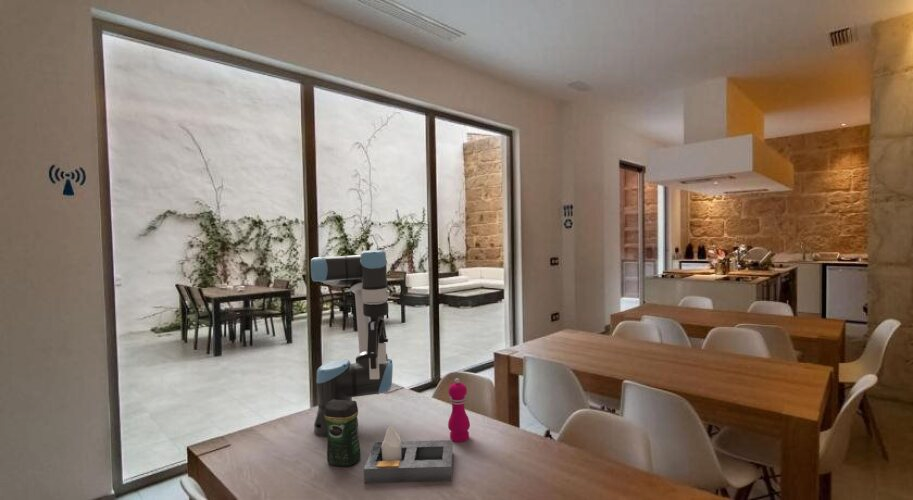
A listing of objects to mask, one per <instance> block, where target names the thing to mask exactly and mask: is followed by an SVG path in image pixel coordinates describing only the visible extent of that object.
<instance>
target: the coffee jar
mask: <svg viewBox="0 0 913 500" xmlns="http://www.w3.org/2000/svg"><path fill="white" fill-rule="evenodd" d="M358 415H359V408H358V402H357V401H356V400H352V401H346V400H335V399H333V400H331V401H330V402H328V403H327V404H326V406H325V419H326V422H327V430H328V437H327V447H326V449H327V450H326V460H327V461H326V462H327V463H328V464H329V465H331V466H336V467H349V466H353V465H355V464H356V463H358V461H359V460H360V458H361V456H362V455H361V453H362V452H361V445H360V439H359V432H358V427H357V418H358Z"/></svg>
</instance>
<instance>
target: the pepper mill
mask: <svg viewBox="0 0 913 500" xmlns="http://www.w3.org/2000/svg"><path fill="white" fill-rule="evenodd" d="M448 395H449V396H450V403H451V409H452V410H451V414H450V416H449V419H448V422H447V423H448V424H447V426H448V430H449V431H450V432H449V440H452V442H455V443H462V442H465V441H468V440H469V438H470V432H469V429H470V427H471V423H470V419H469V416H468V414H467V413H466V410H465V404H466V401H467V400H466V399H467V398H466V396H467V386H466V385H465V384H464V383H463V382H461V380H460V379H459V378H458V377H457V378H455V379H454V382H453V383H451V384H450V385H449V387H448Z"/></svg>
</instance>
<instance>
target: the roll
mask: <svg viewBox="0 0 913 500" xmlns="http://www.w3.org/2000/svg"><path fill="white" fill-rule="evenodd" d="M381 442H382V446H381V448H382V460H383V461H395V460H400V461H402V454H401V442H402V441H401V437H400V435H399V434H398V433H397V432H396V430H395V428H394V427H392V426H388V427H387V430H386V431H385V435H384V438H383V441H381Z"/></svg>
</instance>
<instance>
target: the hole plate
mask: <svg viewBox="0 0 913 500" xmlns="http://www.w3.org/2000/svg"><path fill="white" fill-rule="evenodd" d="M382 442H383V441H379V442H377V441H375V442H374V443H373V445H372V446H373V447H372V449H371V451H370V454H369V455H368V458H367V460H366V462H365V465H364V468H363V479H364V481H363V483H364V484H383V483H384V484H385V483H386V484H387V483H388V484H389V483H391V484H392V483H416V482H417V483H419V482H449V481H450V482H451V481H452V478H453V477H452V476H453V475H452V474H453V471H452V470H453V453H454V450H453V441H452V440H451V439H443V440H440V439H439V440H437V439H436V440H414V441H413V440H411V441H410V440H409V441H405V440H404V441H401V454H402V461H400V460H395V461H383V460H382V448H381V446H382Z"/></svg>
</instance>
